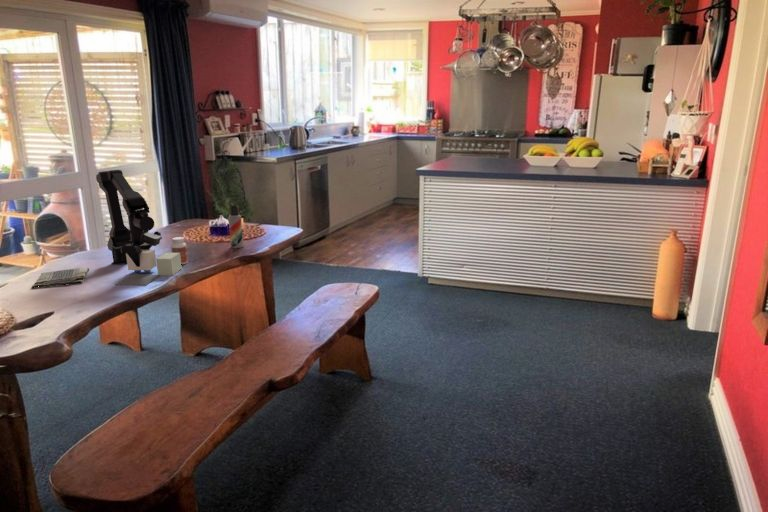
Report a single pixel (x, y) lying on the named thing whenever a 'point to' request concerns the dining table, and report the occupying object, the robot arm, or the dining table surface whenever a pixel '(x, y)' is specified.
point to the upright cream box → (143, 261)
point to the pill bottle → (180, 248)
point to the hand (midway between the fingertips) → (142, 264)
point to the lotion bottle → (235, 227)
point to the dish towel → (62, 277)
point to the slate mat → (138, 280)
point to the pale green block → (169, 264)
